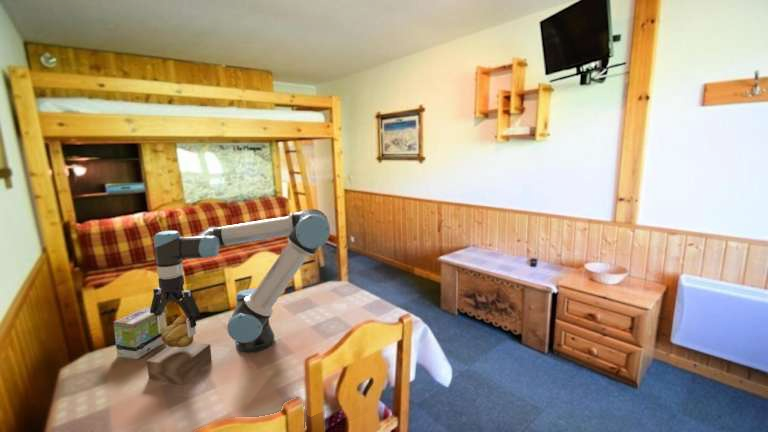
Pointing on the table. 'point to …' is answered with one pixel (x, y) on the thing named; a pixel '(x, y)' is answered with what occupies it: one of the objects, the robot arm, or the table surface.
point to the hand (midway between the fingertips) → (177, 333)
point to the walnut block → (179, 363)
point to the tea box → (137, 333)
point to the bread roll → (177, 333)
